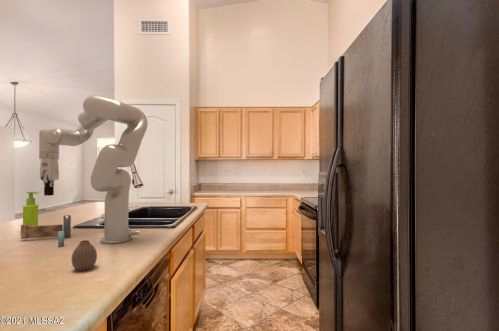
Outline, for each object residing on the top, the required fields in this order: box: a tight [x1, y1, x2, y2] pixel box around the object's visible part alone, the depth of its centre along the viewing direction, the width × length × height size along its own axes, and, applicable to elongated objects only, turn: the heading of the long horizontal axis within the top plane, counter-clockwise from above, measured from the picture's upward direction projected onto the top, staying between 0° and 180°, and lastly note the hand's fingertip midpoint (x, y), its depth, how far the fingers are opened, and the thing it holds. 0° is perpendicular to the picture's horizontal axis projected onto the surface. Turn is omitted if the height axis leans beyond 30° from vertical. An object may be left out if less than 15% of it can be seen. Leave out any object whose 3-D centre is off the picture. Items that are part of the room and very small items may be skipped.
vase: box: [71, 239, 98, 272], centre depth 87 cm, size 7×7×9 cm
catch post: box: [57, 231, 65, 248], centre depth 111 cm, size 2×2×6 cm
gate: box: [20, 223, 63, 240], centre depth 121 cm, size 15×2×6 cm, turn 109°
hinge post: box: [62, 214, 72, 239], centre depth 125 cm, size 3×3×10 cm
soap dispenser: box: [22, 191, 40, 226], centre depth 135 cm, size 6×7×20 cm
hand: (48, 195), depth 127 cm, fingers closed
